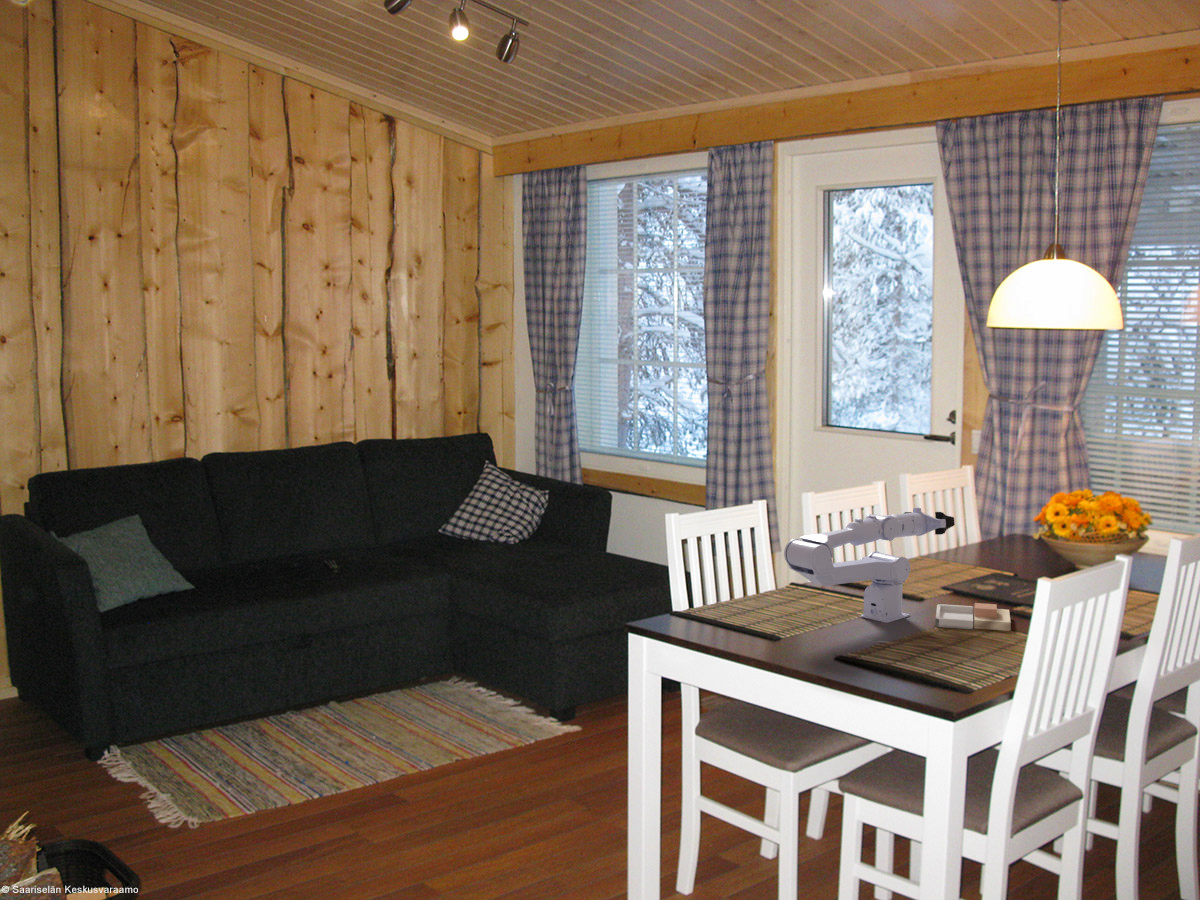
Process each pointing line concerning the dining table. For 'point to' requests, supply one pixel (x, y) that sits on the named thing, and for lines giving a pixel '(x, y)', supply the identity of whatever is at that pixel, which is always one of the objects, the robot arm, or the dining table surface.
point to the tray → (954, 616)
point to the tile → (985, 610)
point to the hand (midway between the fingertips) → (940, 521)
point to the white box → (994, 621)
